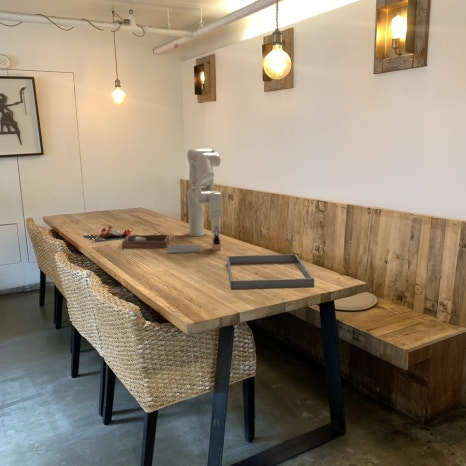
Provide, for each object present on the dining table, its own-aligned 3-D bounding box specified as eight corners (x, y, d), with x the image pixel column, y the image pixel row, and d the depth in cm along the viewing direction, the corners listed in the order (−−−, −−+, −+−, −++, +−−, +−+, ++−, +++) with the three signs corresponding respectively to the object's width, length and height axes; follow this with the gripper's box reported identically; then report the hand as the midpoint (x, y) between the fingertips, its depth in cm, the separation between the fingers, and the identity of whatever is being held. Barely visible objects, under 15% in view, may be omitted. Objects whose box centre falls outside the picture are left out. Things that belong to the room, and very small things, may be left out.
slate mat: (170, 246, 280) (169, 245, 280) (199, 245, 281) (199, 244, 281) (167, 253, 263) (167, 252, 263) (199, 253, 264) (199, 251, 264)
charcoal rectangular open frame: (227, 263, 240) (226, 256, 240) (296, 261, 242) (296, 254, 241) (230, 290, 198) (230, 281, 197) (314, 287, 200) (314, 278, 199)
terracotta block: (212, 248, 275) (212, 238, 274) (220, 247, 275) (220, 238, 274) (212, 250, 270) (212, 240, 269) (220, 249, 271) (220, 239, 269)
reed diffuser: (131, 234, 286) (162, 227, 295) (132, 243, 290) (162, 236, 299) (137, 243, 279) (168, 236, 288) (137, 252, 283) (168, 245, 292)
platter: (133, 231, 332) (132, 219, 330) (142, 239, 308) (141, 226, 306) (82, 237, 318) (81, 224, 315) (88, 246, 294) (87, 232, 292)
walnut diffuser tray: (127, 241, 295) (127, 235, 295) (169, 240, 297) (168, 234, 296) (122, 248, 277) (122, 242, 276) (166, 247, 278) (165, 241, 277)
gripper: (209, 211, 277) (210, 239, 280) (209, 216, 260) (210, 245, 263) (221, 211, 277) (222, 239, 280) (222, 215, 260) (223, 245, 263)
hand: (216, 242), depth 272 cm, fingers open, 9 cm apart
